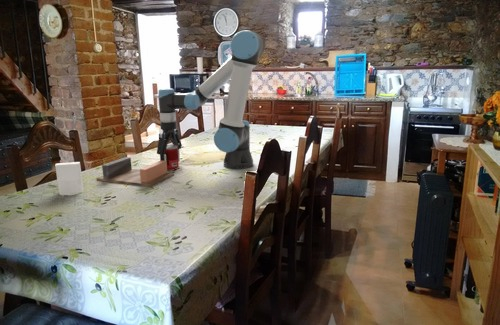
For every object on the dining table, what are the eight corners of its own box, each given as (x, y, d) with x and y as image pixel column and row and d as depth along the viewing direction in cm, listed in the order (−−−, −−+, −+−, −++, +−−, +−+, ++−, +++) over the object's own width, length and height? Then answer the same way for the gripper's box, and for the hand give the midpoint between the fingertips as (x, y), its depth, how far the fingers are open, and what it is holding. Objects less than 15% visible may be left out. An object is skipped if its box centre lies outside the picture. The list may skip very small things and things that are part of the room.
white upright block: (57, 196, 147) (52, 167, 144) (61, 189, 155) (57, 161, 152) (81, 194, 149) (78, 165, 146) (85, 187, 158) (81, 160, 155)
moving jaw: (167, 172, 174) (166, 160, 172) (146, 182, 159) (145, 169, 158) (161, 172, 175) (160, 160, 173) (140, 182, 160) (139, 169, 159)
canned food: (180, 166, 190) (179, 144, 187) (176, 170, 183) (174, 148, 180) (166, 165, 191) (164, 144, 188) (161, 169, 183) (159, 148, 180)
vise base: (174, 175, 174) (173, 160, 172) (151, 186, 158) (150, 171, 156) (123, 170, 184) (121, 156, 182) (96, 180, 167) (95, 165, 166)
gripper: (174, 117, 193) (176, 158, 198) (146, 124, 171) (150, 169, 177) (187, 118, 190) (189, 159, 196) (160, 125, 169) (163, 171, 174)
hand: (170, 164), depth 186 cm, fingers open, 12 cm apart
